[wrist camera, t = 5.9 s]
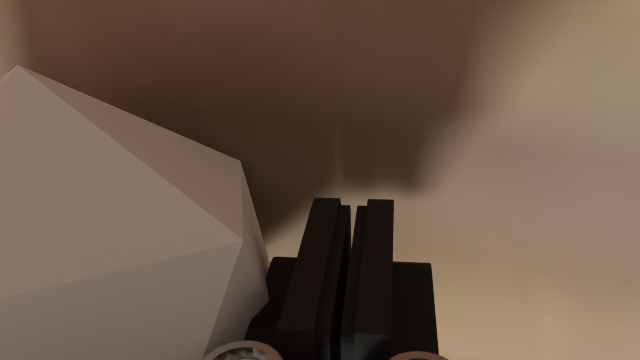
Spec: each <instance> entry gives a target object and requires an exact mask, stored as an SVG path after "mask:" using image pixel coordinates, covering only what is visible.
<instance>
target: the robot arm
mask: <svg viewBox="0 0 640 360" xmlns="http://www.w3.org/2000/svg"><path fill="white" fill-rule="evenodd" d="M393 218H394V200H382V199H368V202H367V206H357V212H356V220H355V227H354V234H353V242H352V249H351V209H350V205H341V200H340V198H314V200H313V203H312V207H311V210H310V214H309V217H308V221H307V224H306V228H305V231H304V235H303V238H302V242H301V245H300V249H299V252H298V256H297V258H295V257H274V258H273V259H272V261H271V264H270V266H269V269H268V272H267V275H266V278H265V280H266V286H267V291H268V297H269V301H268V302H267V303H266V304H265V306H264V307H263V308H262V309H261V310H260V311H259V312H258V313H257V314H256V315H255V316H254V317H253V319H252V320H251V321H250V323H249V326H248V329H247V332H246V335H245V338H244V340H243V341H237V342H231V343H228V344H225V345H223V346H220V347H218V348H216V349H215V350H213V351H212V352H210V353H209V354H207V355H206V356H205V357H204V358H203V360H448V359H446V358H444V357H443V356H440V355H439V351H438V339H437V327H436V316H435V304H434V292H433V280H432V269H431V264H430V263H415V262H393Z"/></svg>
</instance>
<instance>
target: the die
mask: <svg viewBox="0 0 640 360" xmlns="http://www.w3.org/2000/svg"><path fill="white" fill-rule="evenodd" d="M269 266H270V262H269V259H268V255H267V252H266V248H265V245H264V241H263V238H262V234H261V231H260V227H259V224H258V220H257V217H256V213H255V210H254V206H253V203H252V199H251V196H250V192H249V189H248V185H247V182H246V178H245V175H244V171H243V168H242V164H241V161H239V160H237V159H235V158H232V157H230V156H228V155H225V154H223V153H221V152H218V151H216V150H214V149H211V148H209V147H207V146H204V145H202V144H200V143H198V142H195V141H193V140H191V139H188V138H186V137H184V136H181V135H179V134H177V133H174V132H172V131H170V130H167V129H165V128H163V127H160V126H158V125H156V124H153V123H151V122H149V121H147V120H144V119H142V118H140V117H137V116H135V115H133V114H130V113H128V112H126V111H123V110H121V109H119V108H116V107H114V106H112V105H109V104H107V103H105V102H103V101H100V100H98V99H96V98H93V97H91V96H89V95H86V94H84V93H82V92H79V91H77V90H75V89H72V88H70V87H68V86H65V85H63V84H61V83H58V82H56V81H54V80H52V79H49V78H47V77H45V76H42V75H40V74H38V73H35V72H33V71H31V70H28V69H26V68H24V67H21V66H19V65H16V66H15V67H14V68H13V69H11V70H10V71H9V72H7V73H6V74H5V75H4V76H2V77H1V78H0V360H203V358H204V357H205V356H206V355H207V354H209V353H210V352H212V351H213V350H215V349H216V348H218V347H220V346H223V345H225V344H228V343H231V342H237V341H243V340H244V338H245V335H246V332H247V329H248V326H249V323H250V321H251V320H252V319H253V317H254V316H255V315H256V314H257V313H258V312H259V311H260V310H261V309H262V308H263V307H264V306H265V304H266V303H267V302H268V301H269V297H268V291H267V286H266V280H265V278H266V275H267V272H268V269H269Z"/></svg>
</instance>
